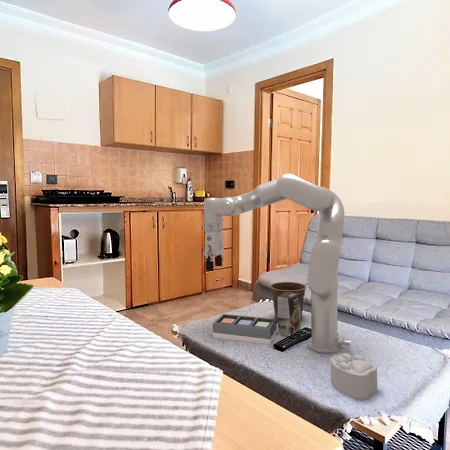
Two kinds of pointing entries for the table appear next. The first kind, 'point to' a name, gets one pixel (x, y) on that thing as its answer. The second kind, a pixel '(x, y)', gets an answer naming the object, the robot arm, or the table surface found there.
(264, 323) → the key sage
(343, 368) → the lumpy-topped squat cylinder
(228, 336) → the base
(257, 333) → the frame
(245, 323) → the key slate
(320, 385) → the table surface
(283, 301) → the coffee box
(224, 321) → the key terracotta
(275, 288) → the plant pot
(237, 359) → the table surface
